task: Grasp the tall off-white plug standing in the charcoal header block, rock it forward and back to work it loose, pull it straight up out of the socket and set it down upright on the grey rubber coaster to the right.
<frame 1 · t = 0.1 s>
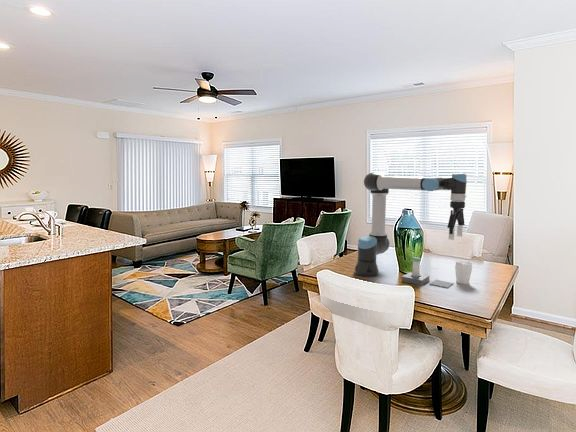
hand: (455, 237, 207), 28 cm above the table, fingers open, 13 cm apart
coaster: (441, 284, 212), on the table
cup: (462, 282, 215), on the table
plug: (416, 269, 217), in the header
header: (415, 280, 218), on the table
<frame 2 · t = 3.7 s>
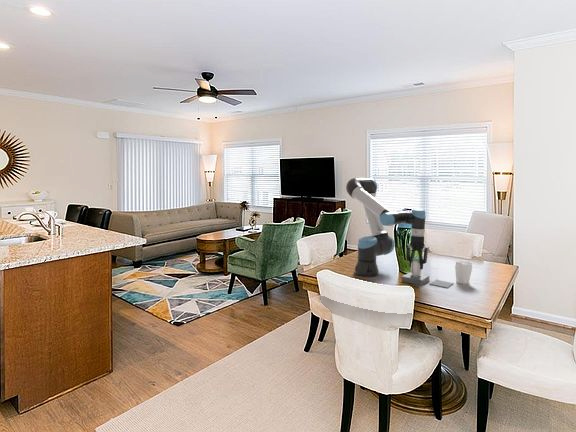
hand: (415, 273, 218), 5 cm above the table, fingers closed on plug, 4 cm apart
plug: (416, 269, 217), in the header, touching gripper
everything else where it was.
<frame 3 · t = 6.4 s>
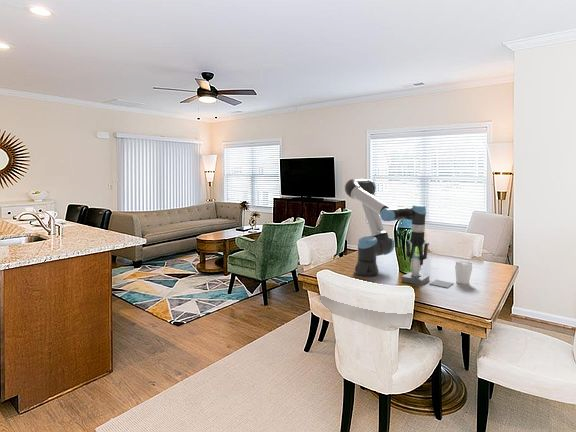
hand: (415, 269, 217), 7 cm above the table, fingers closed on plug, 4 cm apart
plug: (415, 266, 217), point 9 cm above the table, touching gripper
everything else where it was.
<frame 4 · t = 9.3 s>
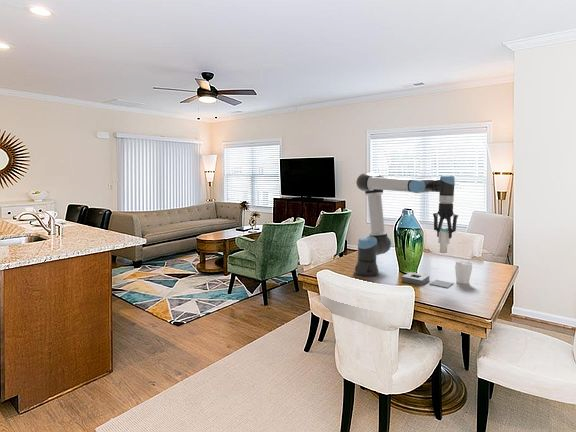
hand: (443, 243, 209), 25 cm above the table, fingers closed on plug, 4 cm apart
plug: (443, 240, 208), point 26 cm above the table, touching gripper
everything else where it was.
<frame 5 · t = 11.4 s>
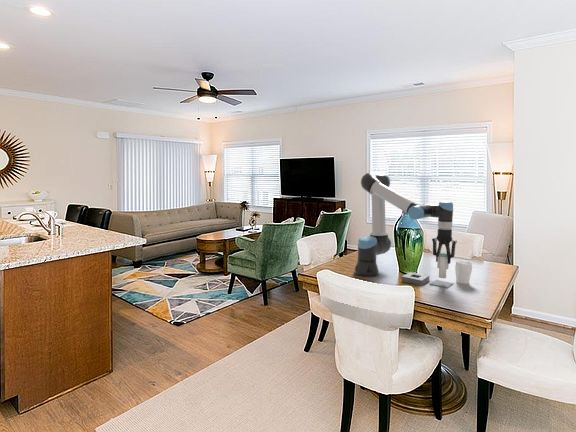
hand: (442, 268, 210), 10 cm above the table, fingers closed on plug, 4 cm apart
plug: (442, 265, 210), point 11 cm above the table, touching gripper
everything else where it was.
when the fingers open (6 cm above the table, at t = 12.4 s): plug stays where it is, resting on coaster.
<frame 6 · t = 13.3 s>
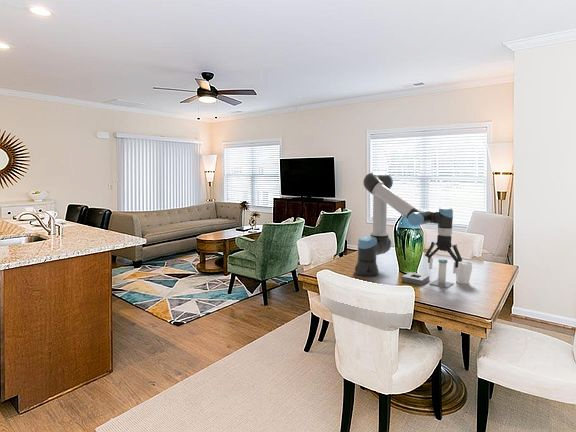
hand: (442, 270, 211), 8 cm above the table, fingers open, 13 cm apart
plug: (442, 271, 211), on the coaster, point 8 cm above the table
everything else where it was.
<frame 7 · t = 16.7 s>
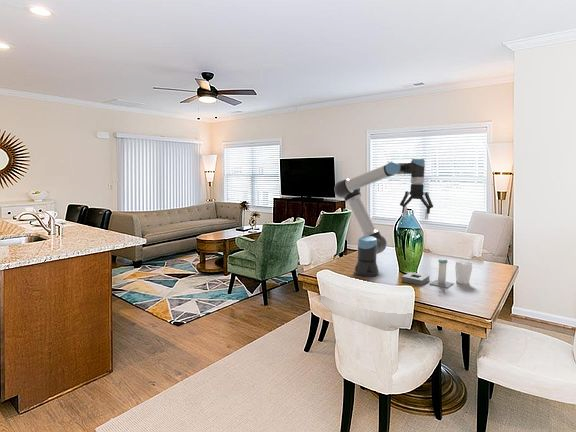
hand: (415, 218, 225), 37 cm above the table, fingers open, 13 cm apart
nothing on the table moved.
at the end: plug inside the target area on the coaster (0.1 cm from its centre), point 7.6 cm above the coaster's base; plug tilted 0°; the gripper is holding nothing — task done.
